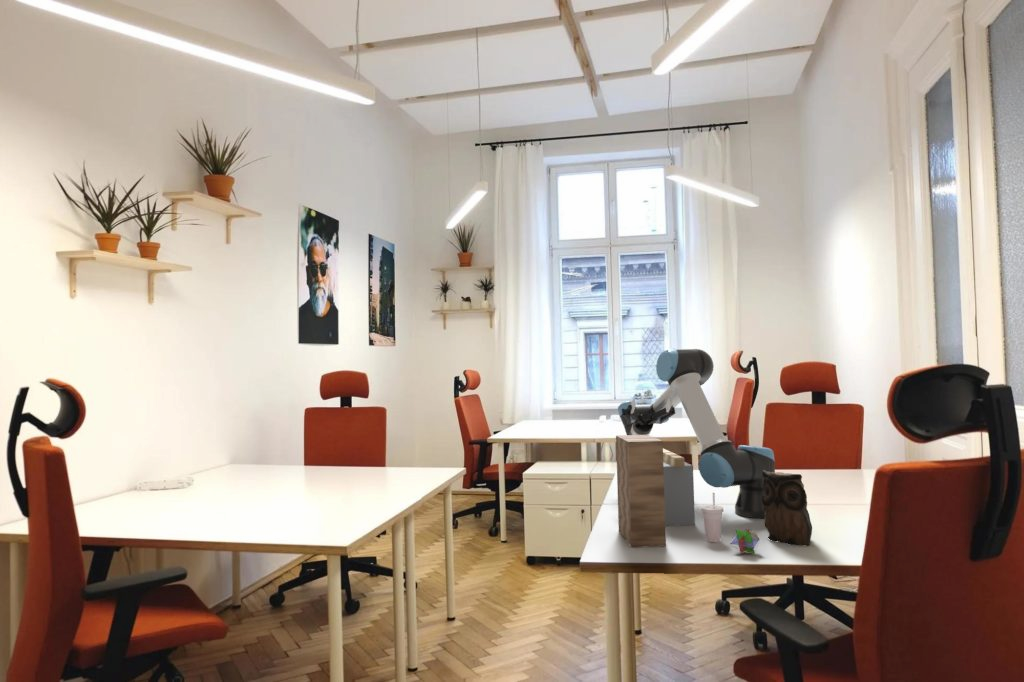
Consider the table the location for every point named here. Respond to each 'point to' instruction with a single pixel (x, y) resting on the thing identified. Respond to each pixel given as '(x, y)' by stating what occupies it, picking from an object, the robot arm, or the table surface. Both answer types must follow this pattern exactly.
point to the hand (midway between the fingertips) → (652, 401)
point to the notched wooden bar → (673, 459)
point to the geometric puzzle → (746, 540)
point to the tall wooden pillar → (641, 490)
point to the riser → (679, 495)
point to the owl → (786, 508)
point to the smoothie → (712, 521)
